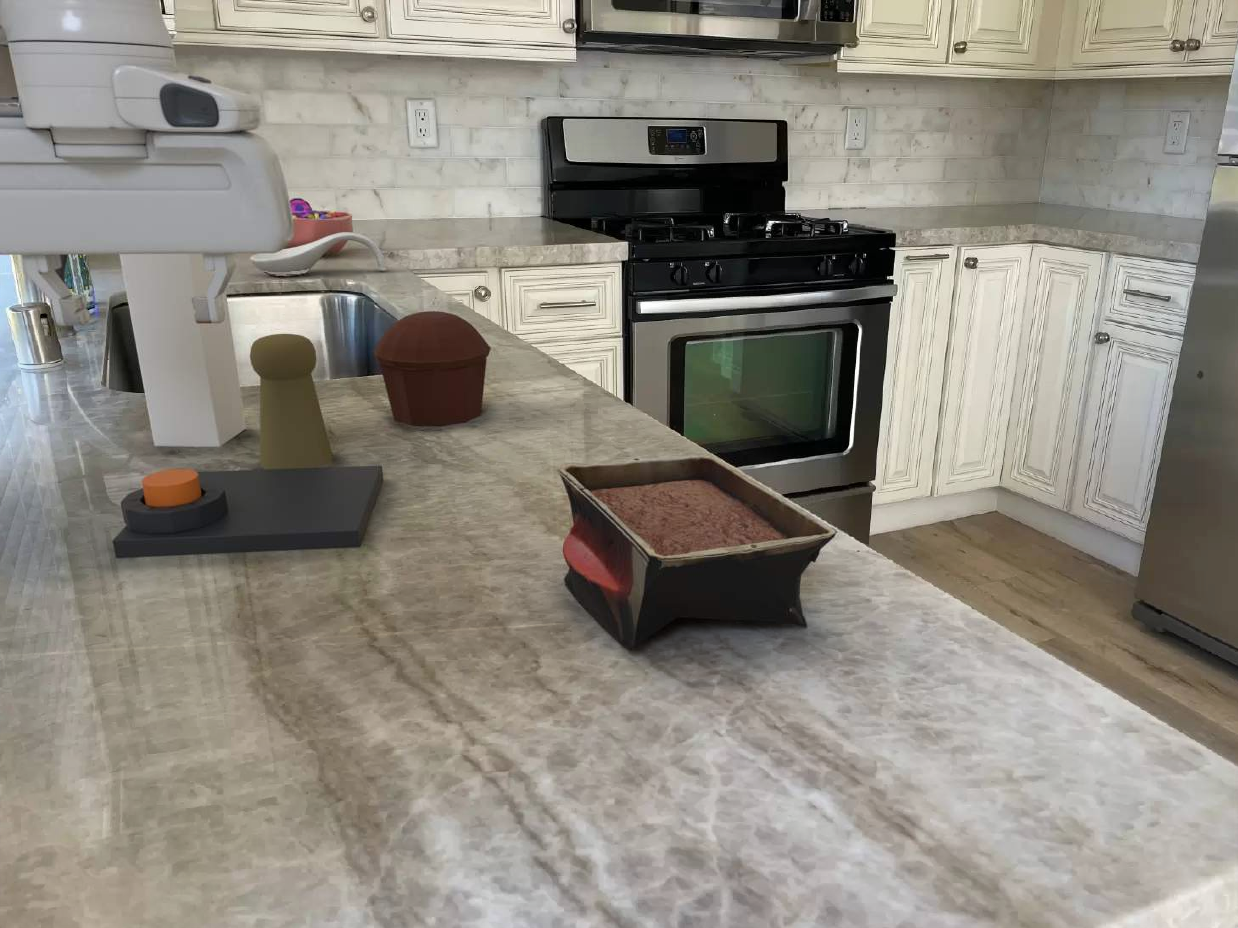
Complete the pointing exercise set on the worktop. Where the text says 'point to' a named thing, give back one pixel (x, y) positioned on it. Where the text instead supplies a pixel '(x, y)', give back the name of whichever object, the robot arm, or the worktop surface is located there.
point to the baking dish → (683, 545)
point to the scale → (255, 513)
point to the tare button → (171, 487)
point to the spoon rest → (309, 254)
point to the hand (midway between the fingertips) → (143, 323)
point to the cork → (289, 404)
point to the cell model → (317, 225)
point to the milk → (182, 352)
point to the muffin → (433, 368)
